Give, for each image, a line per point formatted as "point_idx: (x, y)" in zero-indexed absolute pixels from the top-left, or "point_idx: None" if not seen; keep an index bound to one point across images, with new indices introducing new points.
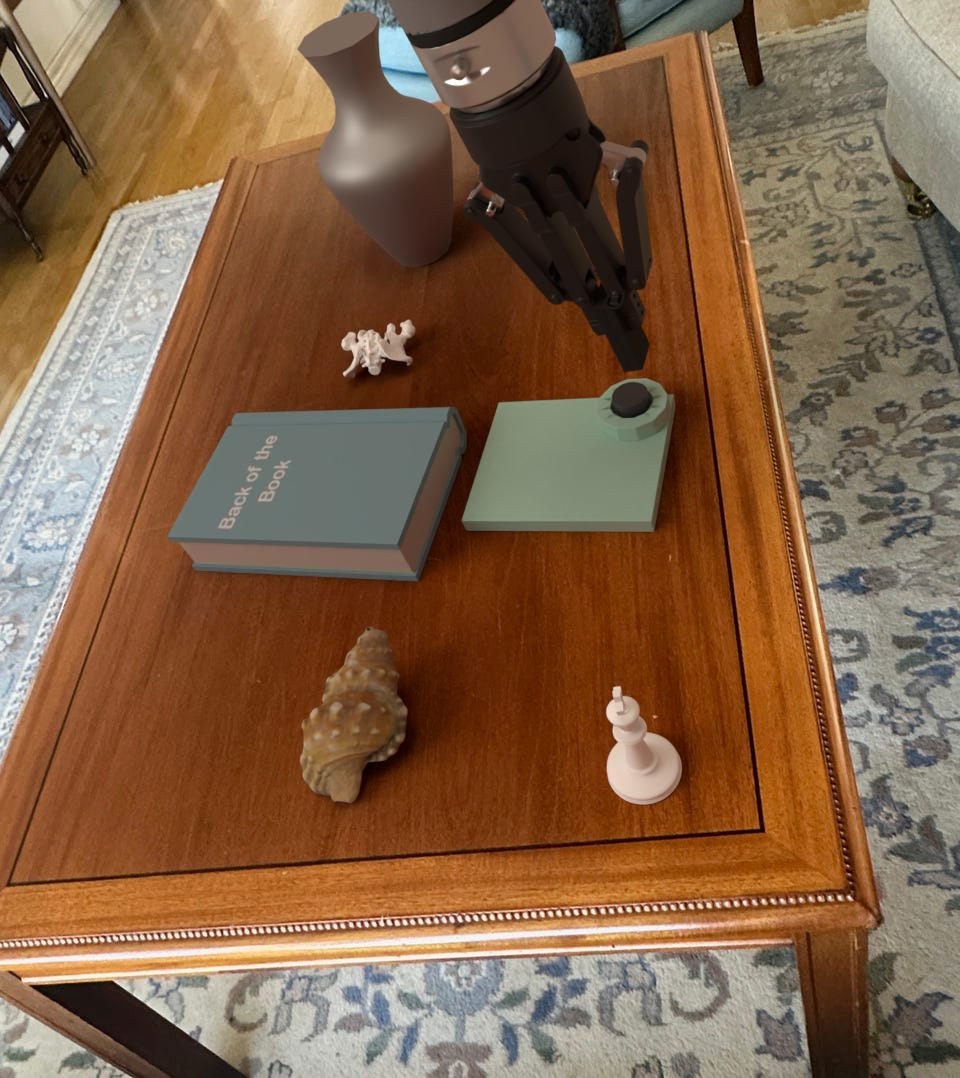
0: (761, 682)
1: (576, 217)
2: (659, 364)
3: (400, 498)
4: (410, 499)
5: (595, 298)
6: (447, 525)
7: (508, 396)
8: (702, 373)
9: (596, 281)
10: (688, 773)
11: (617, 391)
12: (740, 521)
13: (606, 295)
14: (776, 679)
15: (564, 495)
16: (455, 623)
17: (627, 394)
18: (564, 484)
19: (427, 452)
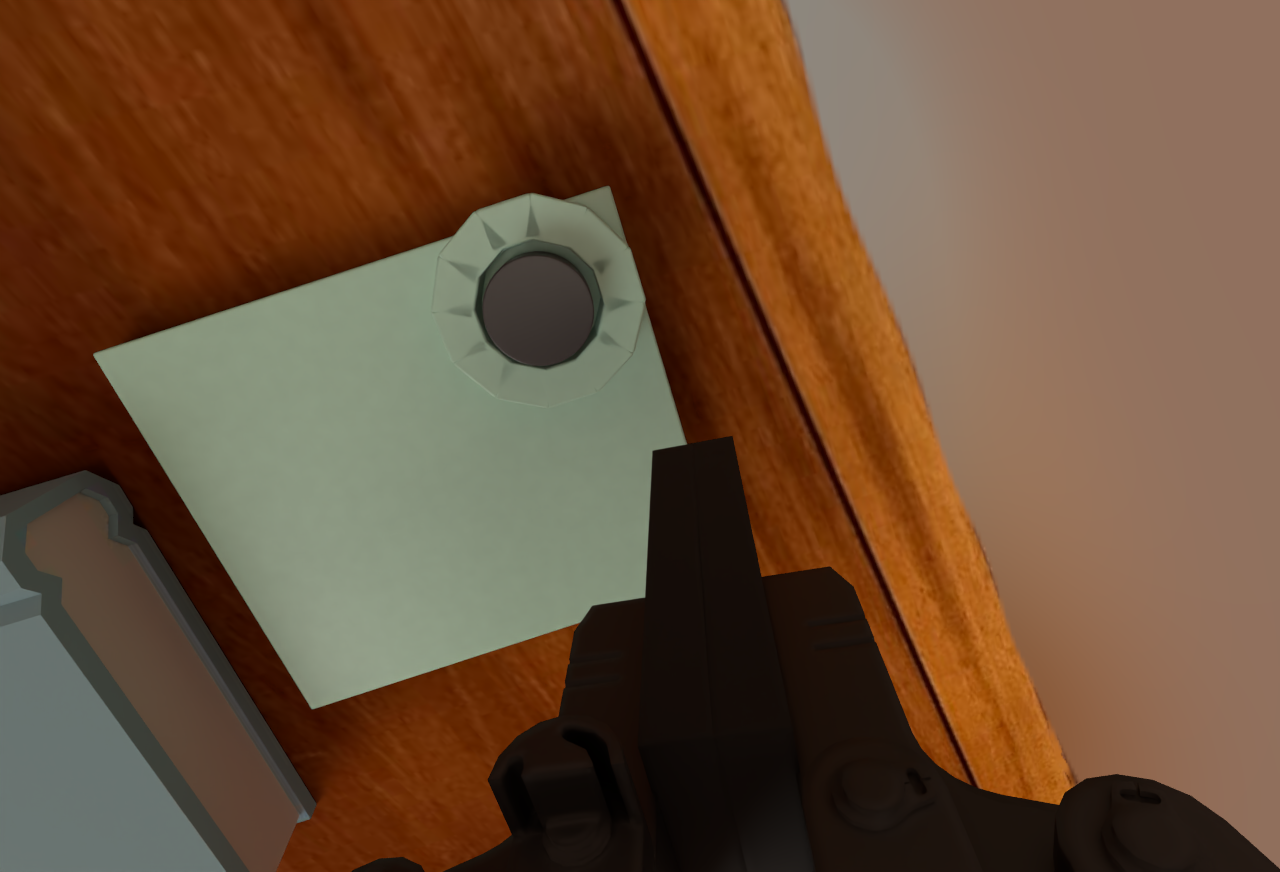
0: (977, 729)
1: None
2: (476, 15)
3: (159, 845)
4: (189, 838)
5: (676, 863)
6: (269, 686)
7: (81, 274)
8: (625, 29)
9: (647, 831)
10: None
11: (494, 310)
12: (872, 478)
13: (747, 841)
14: (996, 717)
15: (504, 579)
16: (453, 834)
17: (533, 314)
18: (485, 552)
19: (95, 716)
